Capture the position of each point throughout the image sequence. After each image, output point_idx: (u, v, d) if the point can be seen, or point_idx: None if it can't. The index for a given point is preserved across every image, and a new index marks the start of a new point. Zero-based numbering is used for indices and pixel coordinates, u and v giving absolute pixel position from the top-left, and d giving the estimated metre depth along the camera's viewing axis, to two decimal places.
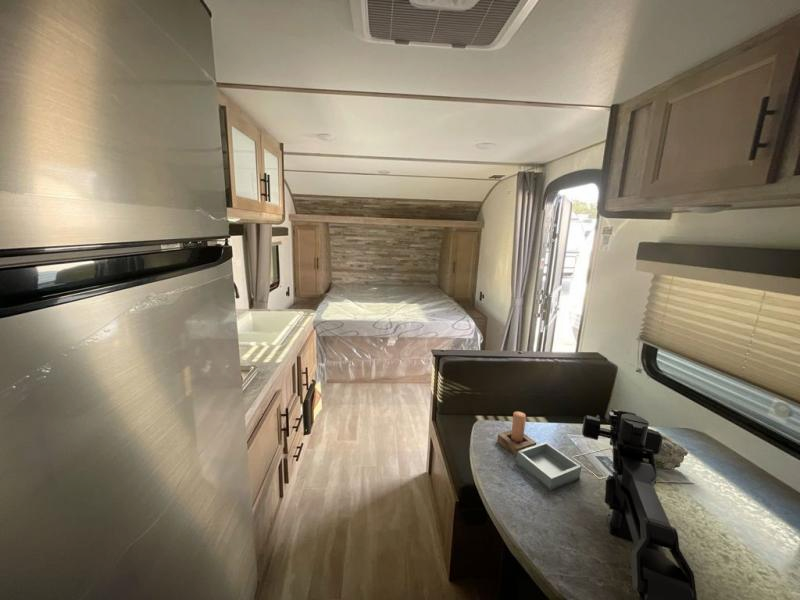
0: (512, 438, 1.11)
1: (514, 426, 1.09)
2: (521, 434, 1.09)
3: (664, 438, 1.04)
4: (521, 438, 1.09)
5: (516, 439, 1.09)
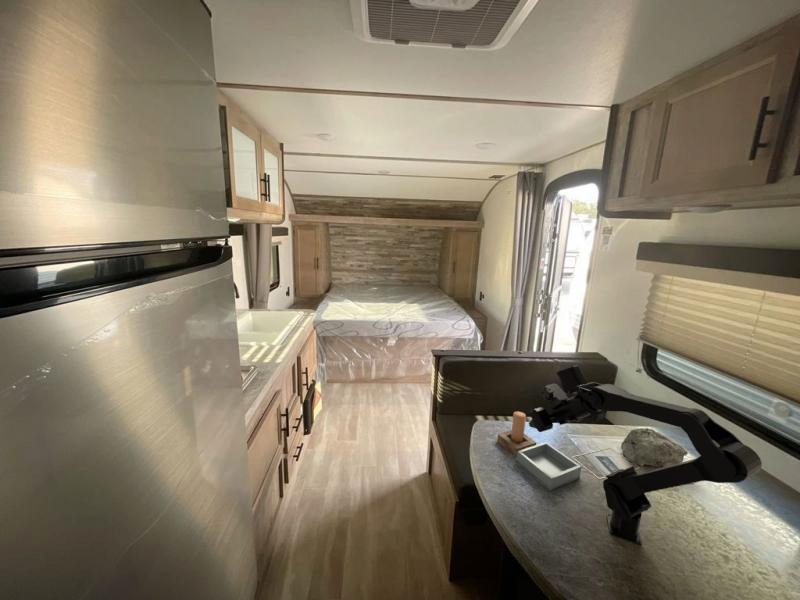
0: (512, 438, 1.11)
1: (514, 426, 1.09)
2: (521, 434, 1.09)
3: (664, 438, 1.04)
4: (521, 438, 1.09)
5: (516, 439, 1.09)
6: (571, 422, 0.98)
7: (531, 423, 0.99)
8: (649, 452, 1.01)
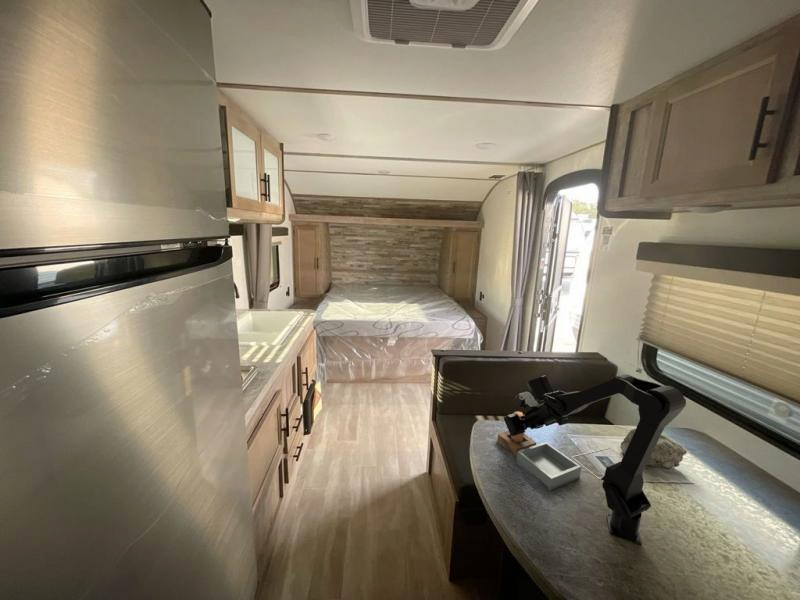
0: (512, 438, 1.11)
1: None
2: (521, 434, 1.09)
3: (663, 437, 1.04)
4: (521, 438, 1.09)
5: (516, 439, 1.09)
6: (537, 428, 1.06)
7: None
8: None
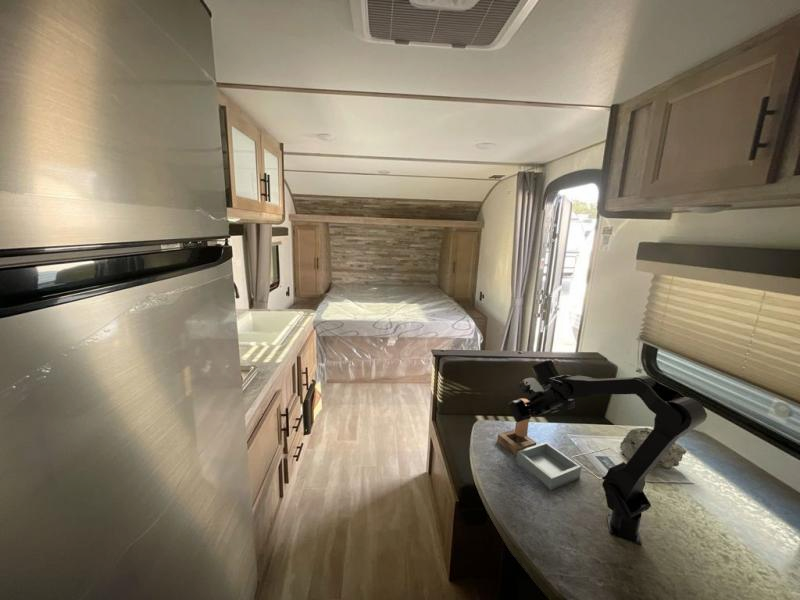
0: (517, 425, 1.08)
1: None
2: (526, 421, 1.07)
3: None
4: (526, 425, 1.07)
5: (521, 426, 1.07)
6: (542, 414, 1.04)
7: None
8: None
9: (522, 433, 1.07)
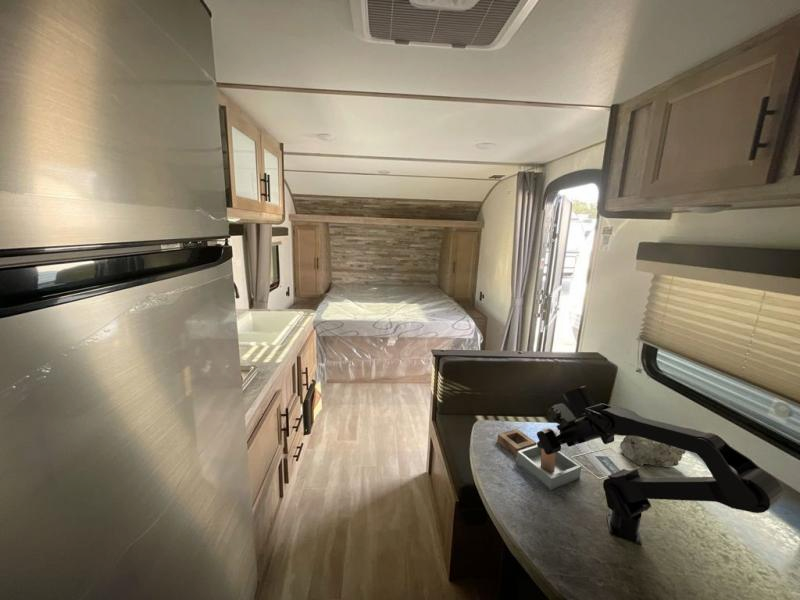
0: (543, 459, 0.99)
1: None
2: (553, 454, 0.98)
3: None
4: (553, 458, 0.98)
5: (547, 460, 0.98)
6: None
7: (539, 443, 0.97)
8: (649, 451, 1.01)
9: (549, 467, 0.98)
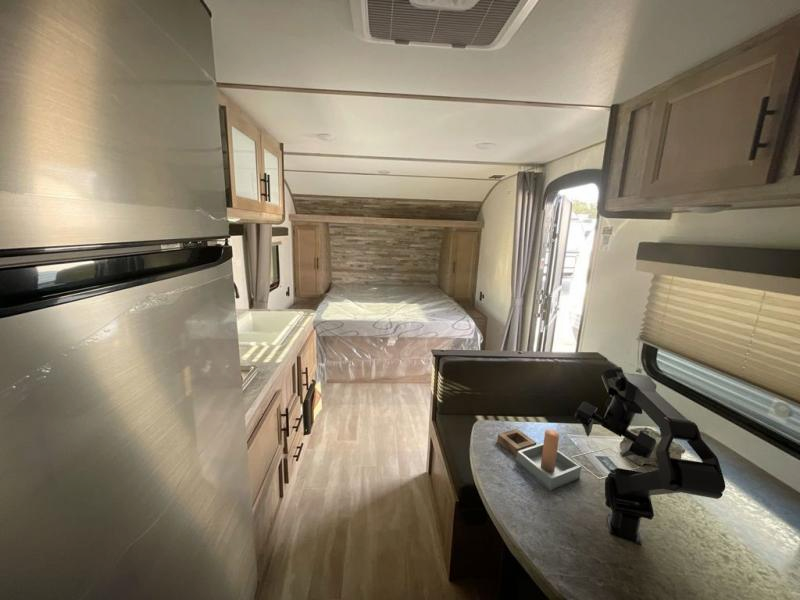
0: (543, 459, 0.99)
1: (546, 446, 0.98)
2: (554, 455, 0.97)
3: None
4: (554, 460, 0.98)
5: (548, 461, 0.98)
6: (628, 449, 0.85)
7: None
8: None
9: (549, 468, 0.98)
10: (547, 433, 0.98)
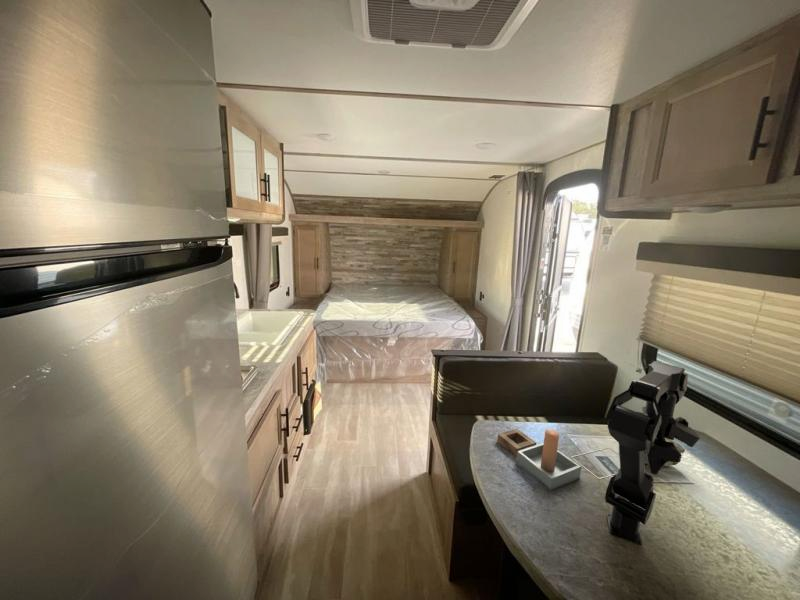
0: (543, 459, 0.99)
1: (546, 446, 0.98)
2: (554, 455, 0.97)
3: None
4: (554, 460, 0.98)
5: (548, 461, 0.98)
6: None
7: None
8: None
9: (549, 468, 0.98)
10: (547, 433, 0.98)
